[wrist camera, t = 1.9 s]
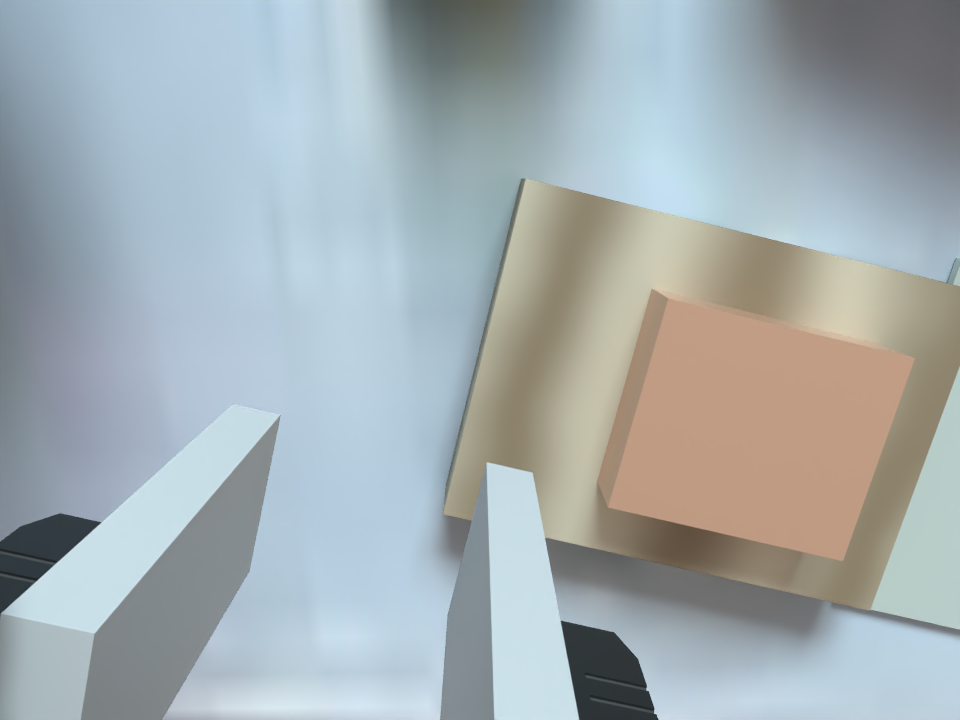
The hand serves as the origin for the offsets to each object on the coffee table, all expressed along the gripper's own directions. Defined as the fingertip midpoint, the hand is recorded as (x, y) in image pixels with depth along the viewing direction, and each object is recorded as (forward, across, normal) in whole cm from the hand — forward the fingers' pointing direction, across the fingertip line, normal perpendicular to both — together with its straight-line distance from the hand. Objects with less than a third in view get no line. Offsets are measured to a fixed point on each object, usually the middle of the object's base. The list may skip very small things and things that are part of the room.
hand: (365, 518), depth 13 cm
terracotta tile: (+16, +11, 0) cm, 19 cm away
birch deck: (+19, +10, 0) cm, 21 cm away
